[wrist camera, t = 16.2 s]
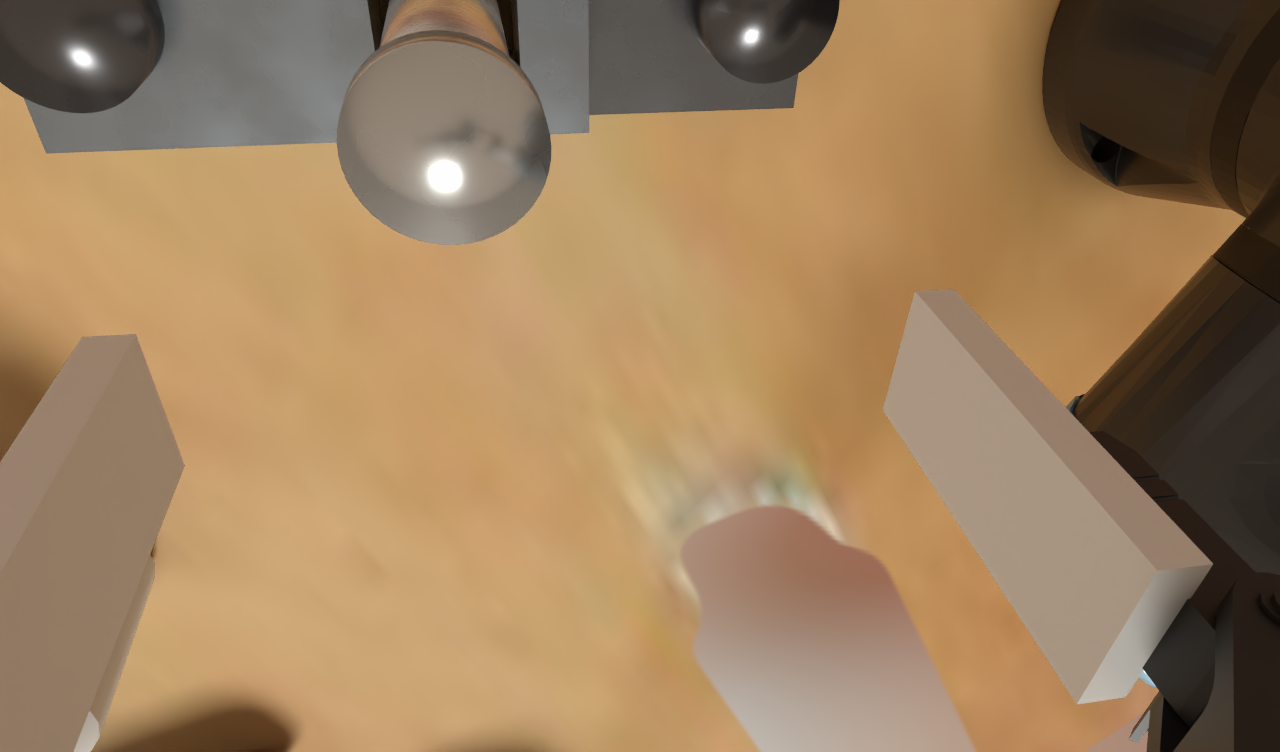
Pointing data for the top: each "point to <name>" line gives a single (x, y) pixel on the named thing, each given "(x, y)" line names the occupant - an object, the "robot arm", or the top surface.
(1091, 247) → the top surface
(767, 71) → the plate with dome knobs
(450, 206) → the steel pin
